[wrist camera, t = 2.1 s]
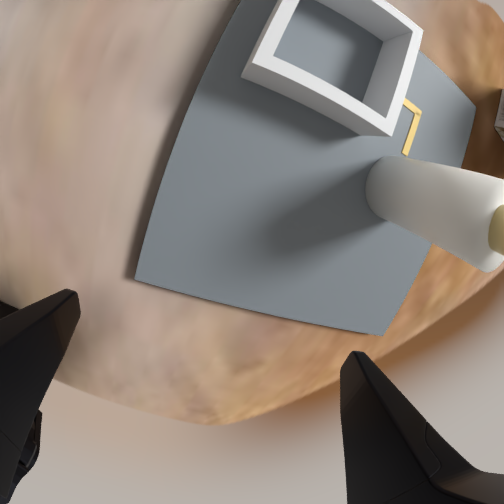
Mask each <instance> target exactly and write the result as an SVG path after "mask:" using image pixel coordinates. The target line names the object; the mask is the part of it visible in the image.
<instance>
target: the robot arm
mask: <svg viewBox="0 0 504 504" xmlns="http://www.w3.org/2000/svg"><path fill="white" fill-rule="evenodd" d="M80 314H81V311H80V304H79V298H78V294H77V292H76V291H73V290H70V289H64V290H62V291H59V292H57V293H55V294H53V295H51V296H48V297H46V298H44V299H42V300H40V301H38V302H35V303H33V304H31V305H29V306H27V307H25V308H23V309H21V310H19V309H16V308H14V307H12V306H9V305H7V304H5V303H3V302H1V301H0V504H7V503H9V501H10V499H11V497H12V494H13V492H14V490H15V488H16V486H17V484H18V483H19V482H20V480H21V479H22V478H23V477H24V476H25V475H26V474H27V472H29V470H30V469H31V468H32V467H33V466H34V464H35V462H36V460H37V457H38V455H39V450H40V434H41V421H42V412H40V410H38V409H39V407H40V404H41V402H42V400H43V398H44V395H45V393H46V391H47V389H48V387H49V385H50V383H51V381H52V379H53V377H54V374H55V372H56V370H57V368H58V366H59V364H60V362H61V361H62V359H63V356H64V354H65V352H66V350H67V347H68V345H69V342H70V340H71V337H72V335H73V332H74V330H75V327H76V325H77V323H78V320H79V318H80ZM340 413H341V424H342V434H343V445H344V457H345V470H346V487H347V504H504V474H496V473H488V472H483V471H480V470H478V469H476V468H475V467H473V466H472V465H471V464H470V463H469V462H468V461H466V459H464V458H463V457H462V456H461V455H460V454H459V453H458V452H457V451H456V450H455V449H454V448H453V447H451V446H450V445H449V444H448V443H447V442H446V441H445V440H444V439H443V438H442V437H441V436H440V435H439V434H438V432H437V431H436V430H435V429H434V428H433V427H432V426H431V425H430V424H429V423H428V422H426V419H425V418H424V417H423V416H422V415H421V414H420V413H419V412H418V410H417V409H416V408H415V407H414V406H413V405H412V404H411V403H410V402H409V401H408V399H407V398H405V396H404V395H403V394H402V393H401V392H400V391H399V390H398V389H397V388H396V386H395V385H394V384H393V383H392V382H391V381H390V380H389V379H388V378H387V376H386V375H385V374H384V373H383V372H382V371H381V370H380V369H379V368H378V367H377V366H376V365H375V363H374V362H373V361H372V360H371V359H370V358H369V357H368V356H367V355H366V354H365V353H364V352H360V351H352V352H351V353H350V354H349V356H348V357H347V359H346V361H345V362H344V364H343V365H342V367H341V370H340Z"/></svg>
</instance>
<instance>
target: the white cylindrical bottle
mask: <svg viewBox="0 0 504 504" xmlns="http://www.w3.org/2000/svg"><path fill="white" fill-rule="evenodd" d="M365 192H366V199H367V202H368V205H369V207H370V208H371V210H372V211H373V212H374V213H375V214H376V215H377V216H379V217H381V218H383V219H385V220H387V221H389V222H391V223H393V224H395V225H397V226H400V227H402V228H404V229H406V230H408V231H410V232H412V233H414V234H415V235H417V236H419V237H421V238H423V239H425V240H427V241H429V242H431V243H433V244H435V245H437V246H438V247H440V248H442V249H444V250H446V251H448V252H449V253H451V254H453V255H455V256H457V257H458V258H460V259H462V260H464V261H466V262H467V263H469V264H471V265H472V266H474V267H476V268H478V269H479V270H481V271H483V272H491V271H493V270H495V269H496V268H497V267H498V266H499V265H500V264H501V263H502V262H503V261H504V180H503V179H500V178H496V177H493V176H489V175H485V174H481V173H477V172H473V171H469V170H465V169H461V168H456V167H452V166H447V165H442V164H438V163H432V162H427V161H422V160H416V159H411V158H405V157H398V156H386V157H383V158H381V159H380V160H378V161H377V162H376V163H375V164H374V165H373V166H372V168H371V170H370V172H369V174H368V176H367V180H366V186H365Z"/></svg>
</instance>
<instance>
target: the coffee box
mask: <svg viewBox="0 0 504 504" xmlns="http://www.w3.org/2000/svg"><path fill="white" fill-rule="evenodd" d="M494 127H495V129H496V131H497V132H498V134H499V135H500V137H501V138H502V140H503V141H504V89H502V93H501V98H500V103H499V108H498V112H497V116H496V121H495V125H494Z"/></svg>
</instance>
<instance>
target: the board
mask: <svg viewBox="0 0 504 504" xmlns="http://www.w3.org/2000/svg"><path fill="white" fill-rule="evenodd" d="M422 35H423V30H422V29H421V28H420V27H419V26H417V25H416V24H415V23H414V22H413V21H411V20H410V19H409V18H408V17H406V16H405V15H404V14H403V13H401V12H400V11H399V10H397V9H396V8H395V7H393V6H392V5H391V4H389V3H388V2H386V1H385V0H241V1H240V3H239V5H238V7H237V8H236V10H235V12H234V14H233V16H232V18H231V19H230V21H229V23H228V25H227V27H226V29H225V31H224V33H223V35H222V36H221V38H220V40H219V42H218V44H217V46H216V48H215V50H214V52H213V55H212V57H211V59H210V61H209V63H208V65H207V67H206V69H205V72H204V74H203V76H202V78H201V80H200V83H199V85H198V87H197V89H196V92H195V94H194V96H193V99H192V101H191V103H190V106H189V108H188V111H187V113H186V116H185V118H184V121H183V123H182V126H181V128H180V131H179V134H178V136H177V139H176V142H175V144H174V147H173V150H172V152H171V155H170V158H169V161H168V164H167V167H166V170H165V173H164V176H163V179H162V182H161V185H160V188H159V191H158V194H157V197H156V200H155V204H154V207H153V210H152V214H151V217H150V221H149V224H148V228H147V231H146V235H145V238H144V242H143V246H142V250H141V254H140V258H139V262H138V266H137V270H136V274H135V278H134V279H135V280H138V281H141V282H145V283H148V284H152V285H155V286H159V287H162V288H166V289H170V290H173V291H177V292H181V293H184V294H188V295H192V296H196V297H200V298H203V299H207V300H211V301H215V302H219V303H223V304H227V305H231V306H236V307H240V308H244V309H248V310H253V311H257V312H261V313H266V314H270V315H275V316H279V317H284V318H289V319H293V320H298V321H303V322H308V323H313V324H318V325H323V326H328V327H333V328H339V329H344V330H350V331H355V332H361V333H367V334H373V335H379V336H383V335H384V333H385V332H386V330H387V329H388V327H389V325H390V324H391V322H392V320H393V318H394V317H395V315H396V313H397V311H398V310H399V308H400V306H401V304H402V303H403V301H404V299H405V297H406V295H407V293H408V291H409V290H410V288H411V286H412V284H413V282H414V280H415V278H416V276H417V274H418V272H419V270H420V268H421V266H422V264H423V262H424V260H425V257H426V255H427V253H428V251H429V249H430V247H431V244H432V243H431V242H429V241H427V240H425V239H423V238H421V237H419V236H417V235H415V234H414V233H412V232H410V231H408V230H406V229H404V228H402V227H400V226H397V225H395V224H393V223H391V222H389V221H387V220H385V219H383V218H381V217H379V216H377V215H376V214H375V213H374V212H373V211H372V210H371V208H370V207H369V205H368V202H367V199H366V192H365V186H366V180H367V176H368V174H369V172H370V170H371V168H372V166H373V165H374V164H375V163H376V162H377V161H378V160H380V159H381V158H383V157H386V156H398V157H405V158H411V159H416V160H422V161H427V162H432V163H438V164H442V165H447V166H452V167H456V168H461V165H462V162H463V159H464V155H465V152H466V148H467V145H468V141H469V137H470V133H471V129H472V125H473V121H474V117H475V112H476V106H475V105H474V104H473V103H472V102H471V101H470V100H469V98H468V97H467V96H466V95H465V94H464V93H463V92H462V91H461V90H460V89H459V88H458V87H457V85H456V84H455V83H454V82H453V81H452V80H451V79H450V78H449V77H448V76H447V75H446V74H445V73H444V72H443V71H442V70H441V69H439V68H438V67H437V66H436V65H435V64H434V63H433V62H432V61H431V60H430V59H429V58H428V57H426V56H425V55H424V54H423V53H422V52H421V51H420V50H419V47H420V43H421V39H422Z"/></svg>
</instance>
